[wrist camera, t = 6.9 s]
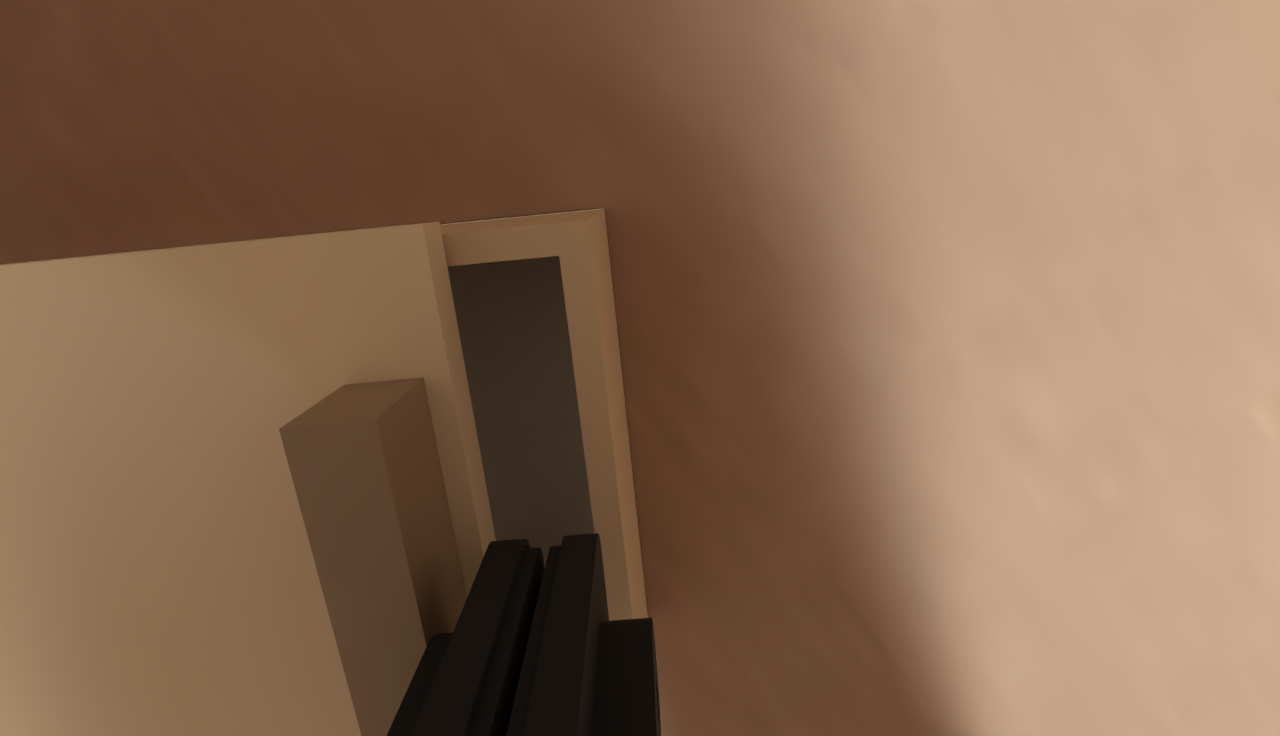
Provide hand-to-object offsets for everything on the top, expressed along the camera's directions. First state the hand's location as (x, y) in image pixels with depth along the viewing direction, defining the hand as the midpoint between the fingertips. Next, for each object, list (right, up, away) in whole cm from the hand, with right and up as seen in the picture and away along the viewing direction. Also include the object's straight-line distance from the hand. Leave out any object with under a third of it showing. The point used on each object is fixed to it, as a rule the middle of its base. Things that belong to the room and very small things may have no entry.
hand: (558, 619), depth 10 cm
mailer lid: (-9, -1, +2) cm, 10 cm away
